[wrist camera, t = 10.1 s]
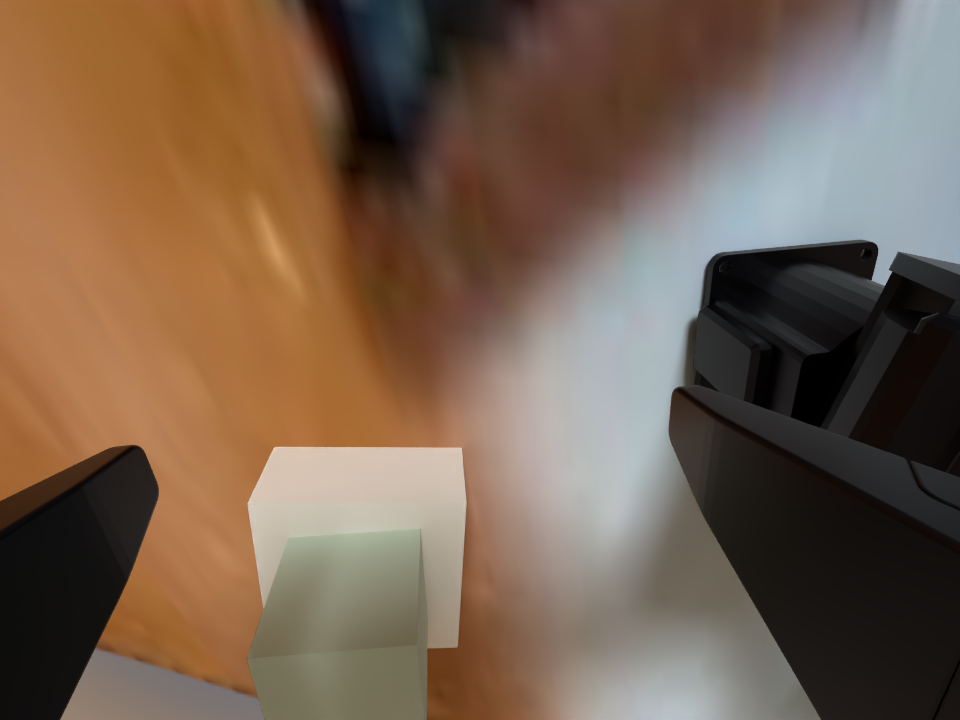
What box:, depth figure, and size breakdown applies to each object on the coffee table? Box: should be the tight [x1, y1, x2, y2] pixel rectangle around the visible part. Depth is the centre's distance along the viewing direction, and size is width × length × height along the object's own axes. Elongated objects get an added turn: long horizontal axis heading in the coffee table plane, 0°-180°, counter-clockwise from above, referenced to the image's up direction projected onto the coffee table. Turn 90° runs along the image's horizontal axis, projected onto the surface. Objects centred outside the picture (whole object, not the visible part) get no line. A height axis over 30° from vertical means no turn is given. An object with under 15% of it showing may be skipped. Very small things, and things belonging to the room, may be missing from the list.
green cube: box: [247, 529, 428, 720], centre depth 19 cm, size 5×5×5 cm
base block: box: [248, 447, 466, 648], centre depth 23 cm, size 8×8×4 cm
